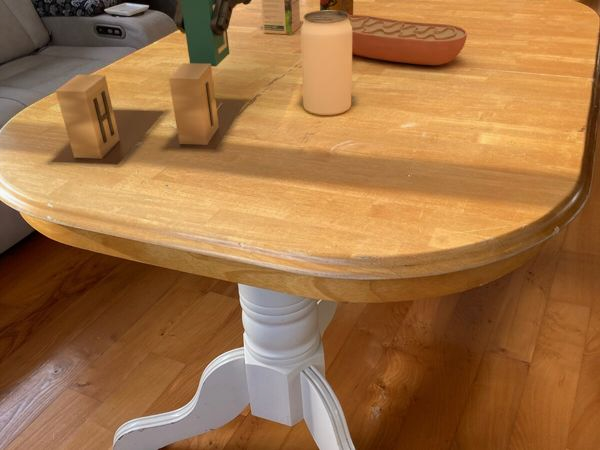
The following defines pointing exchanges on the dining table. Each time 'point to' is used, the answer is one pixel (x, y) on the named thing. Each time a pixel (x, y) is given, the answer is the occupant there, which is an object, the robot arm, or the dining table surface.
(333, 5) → the condiment
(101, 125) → the block
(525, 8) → the dining table surface
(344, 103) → the can
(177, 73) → the slotted tan block
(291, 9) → the syrup box
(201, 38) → the green alphabet block
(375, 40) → the orange elongated oval dish
